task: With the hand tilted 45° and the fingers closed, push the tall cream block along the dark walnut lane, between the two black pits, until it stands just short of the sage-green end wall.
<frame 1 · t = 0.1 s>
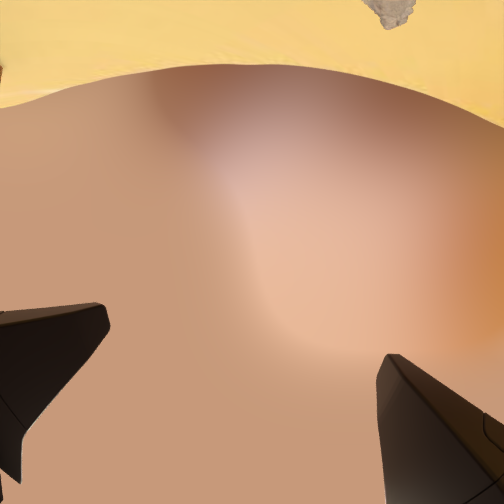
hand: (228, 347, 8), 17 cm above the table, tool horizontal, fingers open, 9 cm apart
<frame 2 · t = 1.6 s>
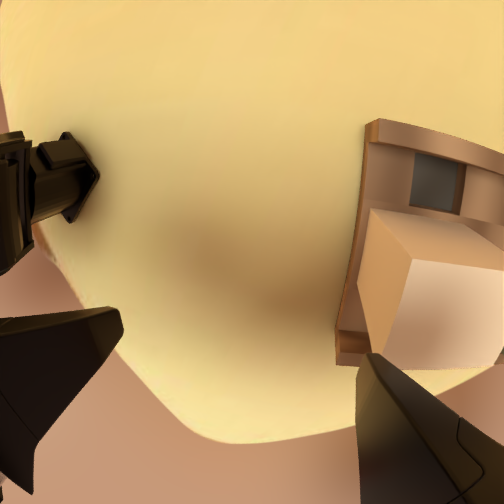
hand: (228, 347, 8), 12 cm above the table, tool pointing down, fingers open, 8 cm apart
cream block: (413, 253, 16), point 1 cm above the table, touching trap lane
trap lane: (452, 252, 16), on the table
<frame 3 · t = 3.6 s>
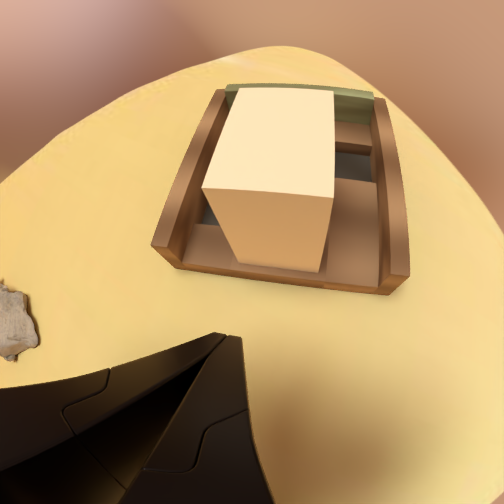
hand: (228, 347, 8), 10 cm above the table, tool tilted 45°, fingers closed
cream block: (285, 219, 19), point 1 cm above the table, touching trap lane
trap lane: (292, 185, 21), on the table
stone: (17, 318, 21), on the table
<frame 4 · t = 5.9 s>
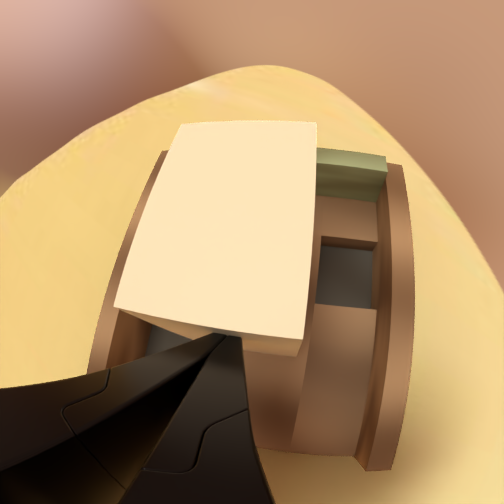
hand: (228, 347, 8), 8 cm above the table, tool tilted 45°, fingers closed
cream block: (257, 286, 15), point 2 cm above the table, touching gripper
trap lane: (261, 303, 16), on the table
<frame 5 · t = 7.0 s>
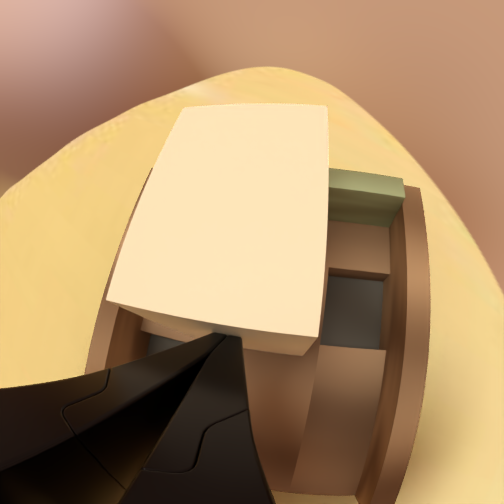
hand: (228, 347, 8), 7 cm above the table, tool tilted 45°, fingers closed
cream block: (262, 281, 14), point 1 cm above the table, touching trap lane
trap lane: (261, 339, 14), on the table
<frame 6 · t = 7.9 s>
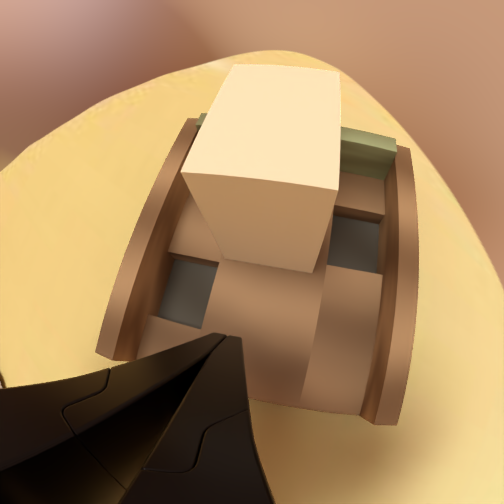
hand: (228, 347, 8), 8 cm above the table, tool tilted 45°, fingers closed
cream block: (278, 211, 17), point 1 cm above the table, touching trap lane
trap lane: (275, 264, 17), on the table
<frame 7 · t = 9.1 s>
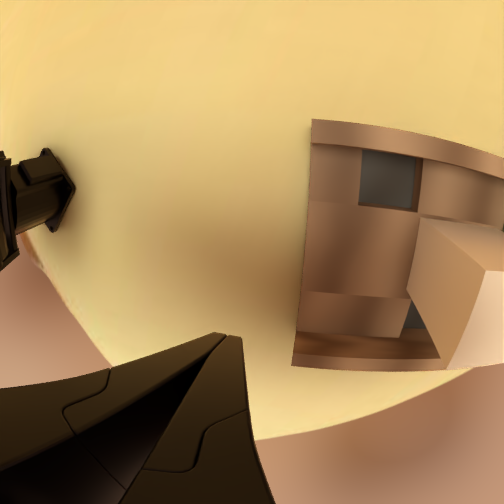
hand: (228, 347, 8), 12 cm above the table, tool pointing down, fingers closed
cream block: (455, 258, 15), point 1 cm above the table, touching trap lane
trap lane: (415, 251, 17), on the table
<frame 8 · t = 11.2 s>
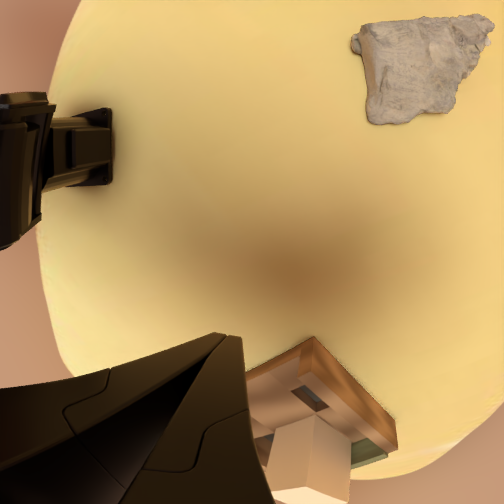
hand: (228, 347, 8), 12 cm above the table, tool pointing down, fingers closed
cream block: (314, 436, 24), point 1 cm above the table, touching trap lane
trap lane: (298, 414, 25), on the table
stone: (419, 65, 13), on the table
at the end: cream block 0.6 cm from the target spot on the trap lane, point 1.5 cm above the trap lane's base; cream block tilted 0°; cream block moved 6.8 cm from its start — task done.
